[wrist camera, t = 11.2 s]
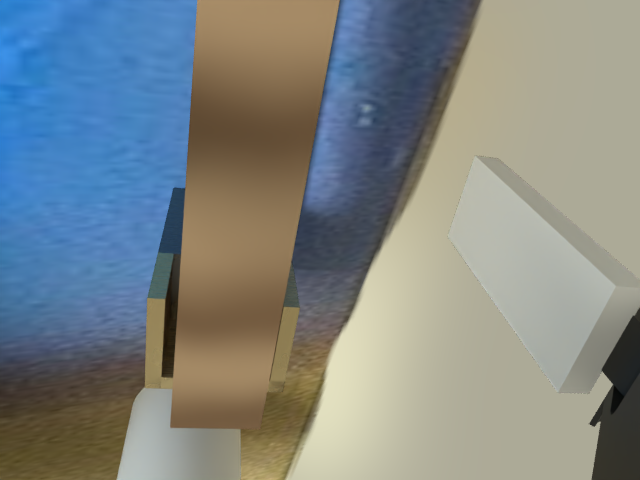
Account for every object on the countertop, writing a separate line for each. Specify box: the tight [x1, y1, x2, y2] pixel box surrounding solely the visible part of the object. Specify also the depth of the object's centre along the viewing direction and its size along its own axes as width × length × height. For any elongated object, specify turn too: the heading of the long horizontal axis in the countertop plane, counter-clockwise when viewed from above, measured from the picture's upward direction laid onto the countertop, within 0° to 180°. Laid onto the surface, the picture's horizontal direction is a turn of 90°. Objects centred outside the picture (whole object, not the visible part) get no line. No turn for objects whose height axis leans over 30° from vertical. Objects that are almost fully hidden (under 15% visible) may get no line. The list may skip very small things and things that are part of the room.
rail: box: [170, 0, 340, 429], centre depth 20 cm, size 28×4×8 cm, turn 169°
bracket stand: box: [145, 188, 300, 392], centre depth 26 cm, size 33×8×12 cm, turn 170°
